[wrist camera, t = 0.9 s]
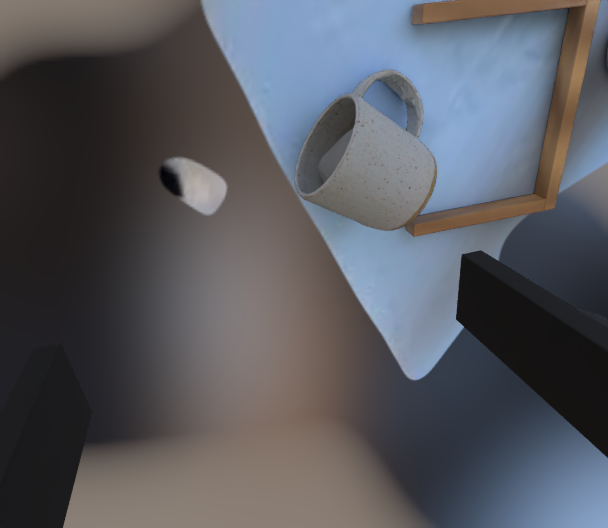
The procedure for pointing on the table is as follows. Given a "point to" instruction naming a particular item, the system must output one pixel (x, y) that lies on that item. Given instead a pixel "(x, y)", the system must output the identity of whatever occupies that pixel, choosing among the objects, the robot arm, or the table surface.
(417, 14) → the oak frame
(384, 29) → the table surface
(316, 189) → the ceramic mug
